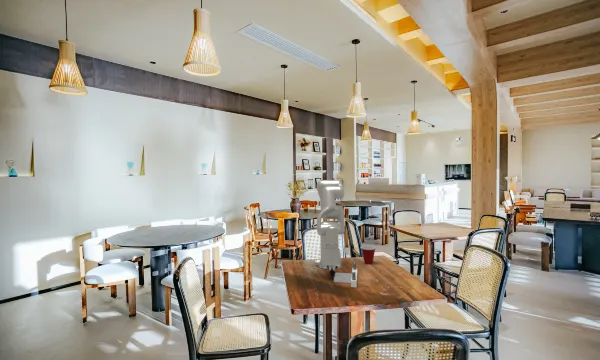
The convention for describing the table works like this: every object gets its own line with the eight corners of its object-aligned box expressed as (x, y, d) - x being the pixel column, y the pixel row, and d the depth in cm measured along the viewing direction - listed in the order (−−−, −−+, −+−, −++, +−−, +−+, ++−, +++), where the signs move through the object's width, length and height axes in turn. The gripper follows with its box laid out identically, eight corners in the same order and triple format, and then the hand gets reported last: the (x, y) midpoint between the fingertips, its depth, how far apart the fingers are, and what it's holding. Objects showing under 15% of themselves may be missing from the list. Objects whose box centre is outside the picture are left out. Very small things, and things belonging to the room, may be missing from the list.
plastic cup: (358, 264, 228) (358, 247, 228) (363, 260, 237) (363, 244, 237) (373, 266, 223) (373, 248, 223) (377, 262, 232) (377, 245, 232)
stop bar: (351, 287, 180) (351, 273, 180) (352, 273, 206) (352, 261, 205) (356, 287, 179) (356, 274, 179) (357, 273, 205) (357, 262, 205)
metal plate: (334, 282, 189) (334, 277, 189) (335, 277, 199) (335, 272, 199) (351, 283, 187) (351, 278, 187) (352, 278, 197) (352, 273, 197)
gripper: (319, 247, 193) (319, 277, 193) (344, 248, 190) (344, 279, 190) (320, 244, 200) (321, 274, 200) (345, 245, 197) (345, 275, 197)
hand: (332, 276), depth 195 cm, fingers closed
